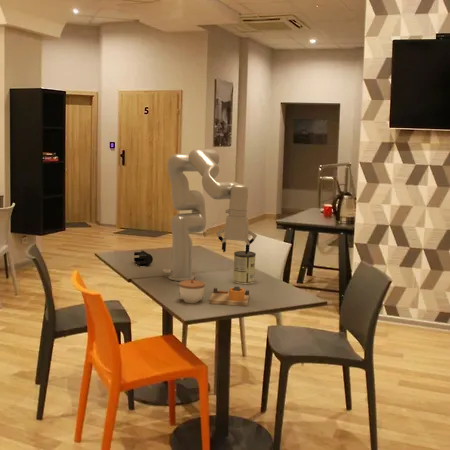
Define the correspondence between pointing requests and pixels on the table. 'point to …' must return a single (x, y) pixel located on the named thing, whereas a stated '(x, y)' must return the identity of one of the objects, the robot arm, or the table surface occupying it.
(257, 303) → the table surface
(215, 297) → the wooden peg board
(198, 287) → the lidded jar
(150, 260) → the end cap
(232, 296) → the orange short cylinder
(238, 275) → the coffee can
